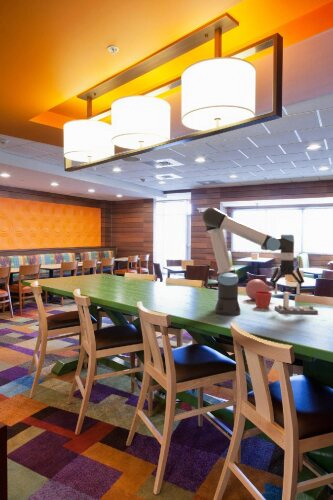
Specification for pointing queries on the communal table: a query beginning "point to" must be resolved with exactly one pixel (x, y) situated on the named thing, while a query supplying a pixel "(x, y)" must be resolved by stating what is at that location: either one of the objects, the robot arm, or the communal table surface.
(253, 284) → the balloon
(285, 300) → the fader tab
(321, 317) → the communal table surface
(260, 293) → the flower pot
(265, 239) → the robot arm
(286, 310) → the console
